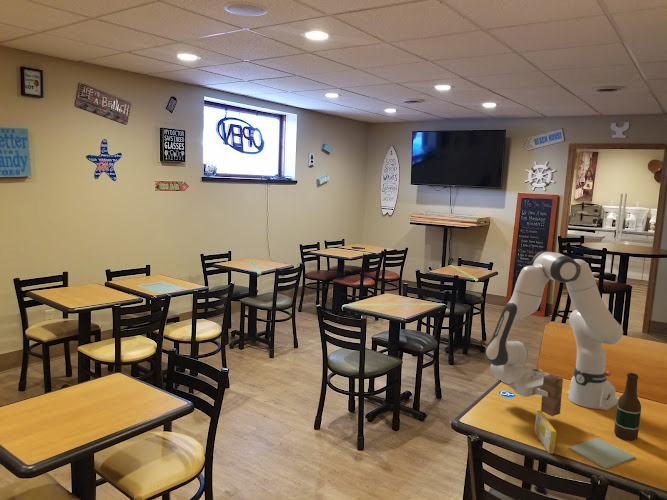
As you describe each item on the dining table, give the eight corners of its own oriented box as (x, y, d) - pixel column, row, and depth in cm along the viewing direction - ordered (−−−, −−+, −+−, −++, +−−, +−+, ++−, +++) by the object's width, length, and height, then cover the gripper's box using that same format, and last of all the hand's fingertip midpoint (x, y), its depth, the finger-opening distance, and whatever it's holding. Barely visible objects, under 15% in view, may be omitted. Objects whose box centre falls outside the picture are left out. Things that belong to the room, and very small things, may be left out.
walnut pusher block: (548, 408, 197) (551, 374, 195) (560, 413, 193) (563, 378, 191) (540, 410, 195) (543, 376, 193) (551, 416, 191) (554, 380, 189)
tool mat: (597, 439, 185) (597, 437, 185) (635, 458, 173) (635, 456, 173) (568, 448, 178) (568, 447, 178) (605, 469, 165) (605, 467, 165)
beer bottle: (609, 431, 192) (616, 370, 188) (628, 430, 192) (635, 370, 189) (622, 441, 184) (629, 378, 181) (642, 441, 185) (650, 378, 181)
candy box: (554, 454, 174) (557, 431, 173) (548, 454, 174) (550, 431, 173) (539, 431, 190) (541, 410, 189) (533, 430, 190) (535, 410, 189)
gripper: (506, 377, 199) (535, 390, 187) (542, 368, 208) (572, 380, 196) (505, 392, 200) (534, 406, 187) (541, 383, 209) (571, 396, 197)
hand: (554, 393), depth 192 cm, fingers closed on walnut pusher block, 4 cm apart
